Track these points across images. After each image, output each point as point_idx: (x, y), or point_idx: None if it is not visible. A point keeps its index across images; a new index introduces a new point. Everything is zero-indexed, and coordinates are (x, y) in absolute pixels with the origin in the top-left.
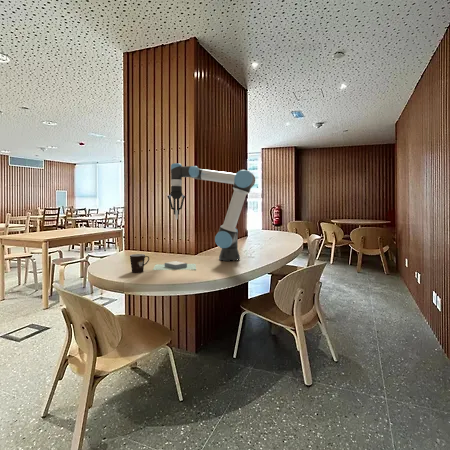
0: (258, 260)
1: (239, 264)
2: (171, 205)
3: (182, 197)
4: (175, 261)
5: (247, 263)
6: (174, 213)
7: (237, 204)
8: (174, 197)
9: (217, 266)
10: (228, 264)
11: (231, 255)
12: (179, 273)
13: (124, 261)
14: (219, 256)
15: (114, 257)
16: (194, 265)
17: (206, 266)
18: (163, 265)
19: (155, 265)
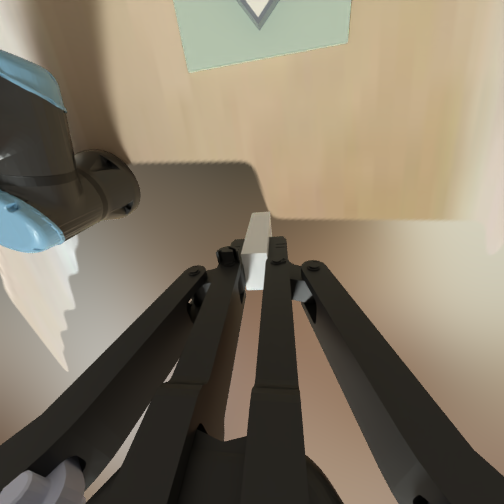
0: None
1: None
2: (329, 296)
3: (52, 486)
4: (258, 1)
5: None
6: (278, 241)
7: None
8: (274, 498)
9: (99, 31)
10: (78, 85)
11: (76, 155)
12: None
13: (470, 143)
14: (129, 181)
15: (493, 229)
16: (182, 22)
17: (138, 28)
18: (312, 11)
19: (348, 8)
